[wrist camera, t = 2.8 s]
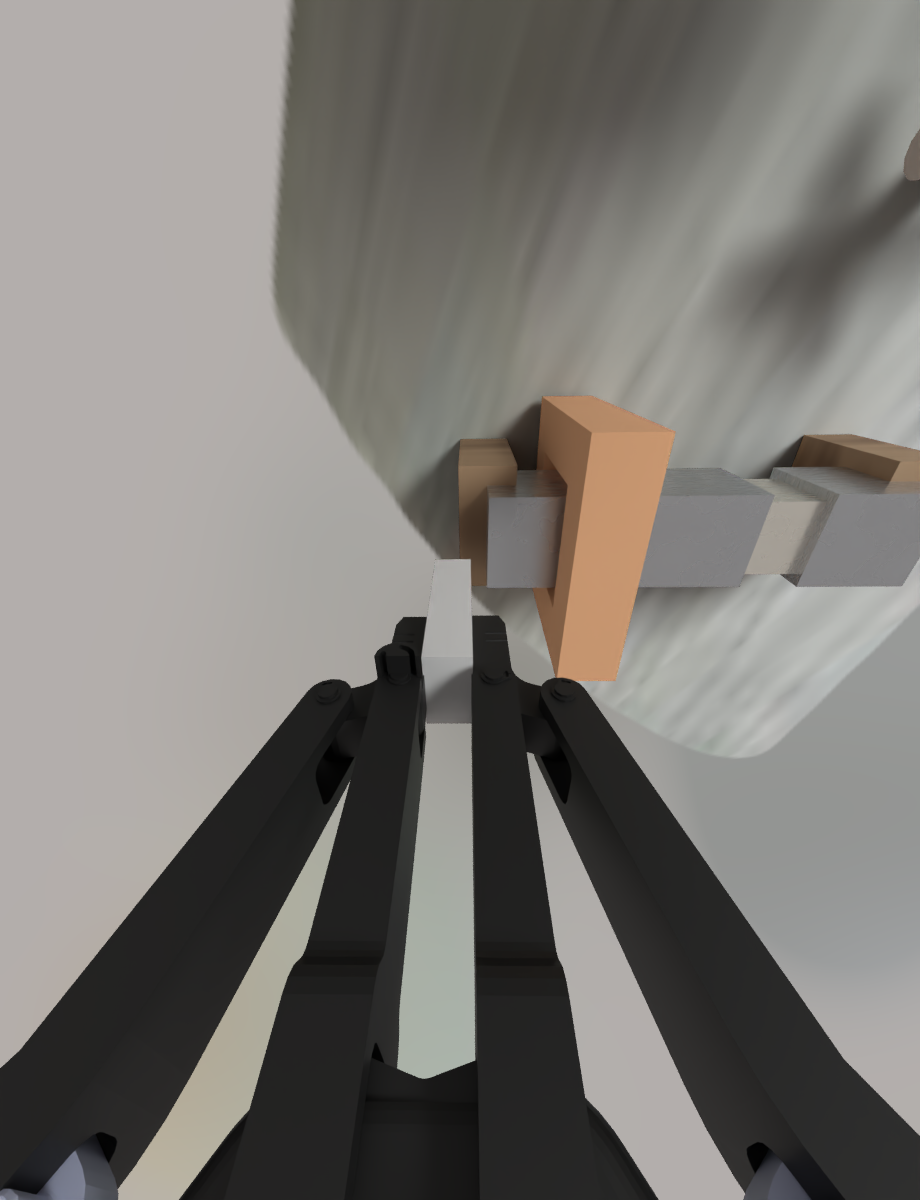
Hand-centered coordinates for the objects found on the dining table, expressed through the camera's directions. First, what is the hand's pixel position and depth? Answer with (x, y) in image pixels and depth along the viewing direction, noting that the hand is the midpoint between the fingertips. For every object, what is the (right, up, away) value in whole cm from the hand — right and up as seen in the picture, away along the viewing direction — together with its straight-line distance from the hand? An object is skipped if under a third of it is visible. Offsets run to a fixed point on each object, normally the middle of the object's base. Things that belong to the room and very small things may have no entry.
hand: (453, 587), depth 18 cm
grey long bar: (+13, +5, +7) cm, 15 cm away
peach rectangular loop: (+7, +7, +11) cm, 14 cm away
